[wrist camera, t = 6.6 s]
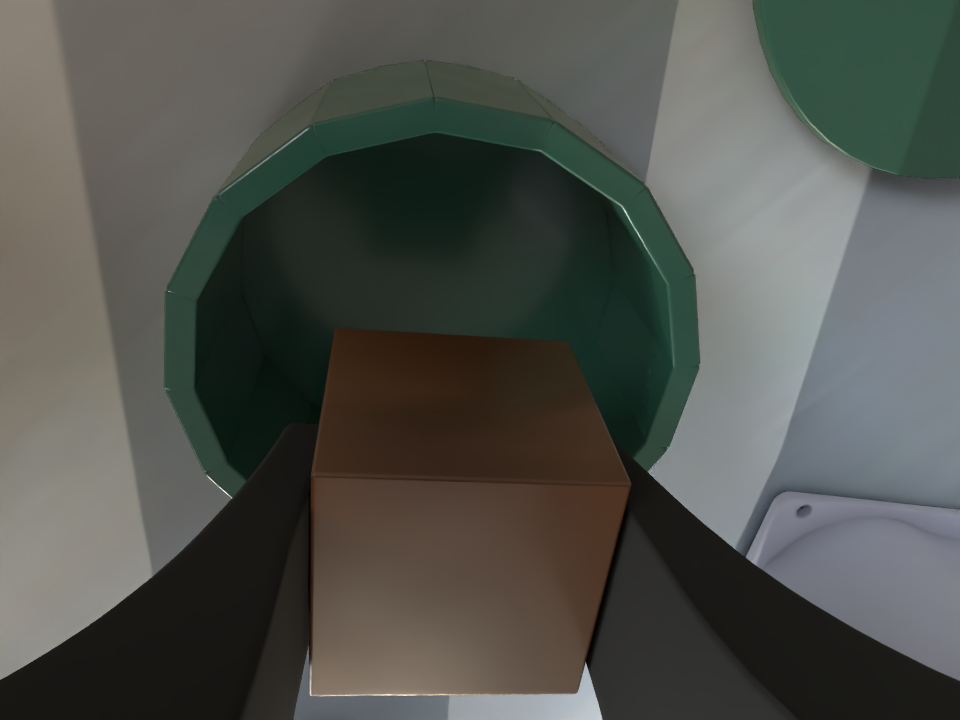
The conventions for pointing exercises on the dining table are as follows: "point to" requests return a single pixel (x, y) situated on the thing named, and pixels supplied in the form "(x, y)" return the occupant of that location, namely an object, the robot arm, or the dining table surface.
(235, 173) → the tin
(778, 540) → the robot arm
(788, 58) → the tin lid
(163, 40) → the dining table surface
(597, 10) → the dining table surface
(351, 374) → the block
